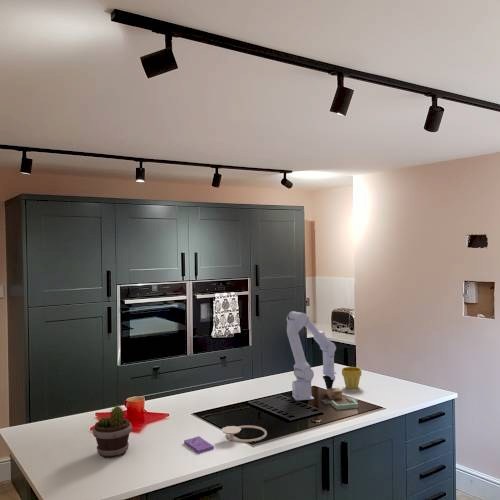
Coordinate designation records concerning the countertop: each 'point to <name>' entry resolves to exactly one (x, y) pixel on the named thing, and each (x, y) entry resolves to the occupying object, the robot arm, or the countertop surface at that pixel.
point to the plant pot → (351, 376)
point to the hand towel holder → (235, 429)
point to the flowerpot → (112, 434)
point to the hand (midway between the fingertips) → (329, 389)
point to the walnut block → (334, 393)
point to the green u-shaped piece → (343, 406)
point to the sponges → (198, 444)
